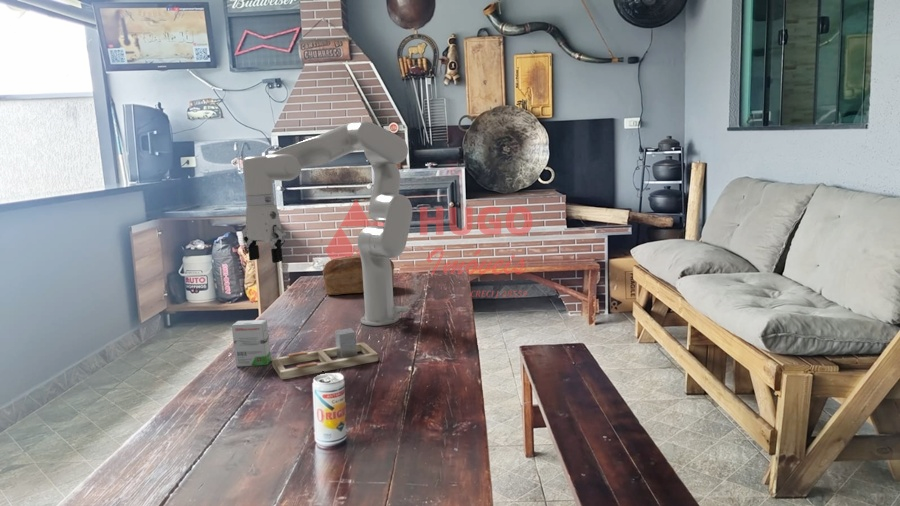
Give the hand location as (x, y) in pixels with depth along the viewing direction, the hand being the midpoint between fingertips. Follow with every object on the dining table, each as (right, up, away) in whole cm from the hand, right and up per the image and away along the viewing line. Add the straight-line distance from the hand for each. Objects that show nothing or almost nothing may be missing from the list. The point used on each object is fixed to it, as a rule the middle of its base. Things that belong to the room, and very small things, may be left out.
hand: (265, 260), depth 184 cm
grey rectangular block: (+24, -27, -6) cm, 37 cm away
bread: (+17, -13, +73) cm, 76 cm away
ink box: (-1, -28, -6) cm, 29 cm away
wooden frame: (+19, -28, -9) cm, 35 cm away
